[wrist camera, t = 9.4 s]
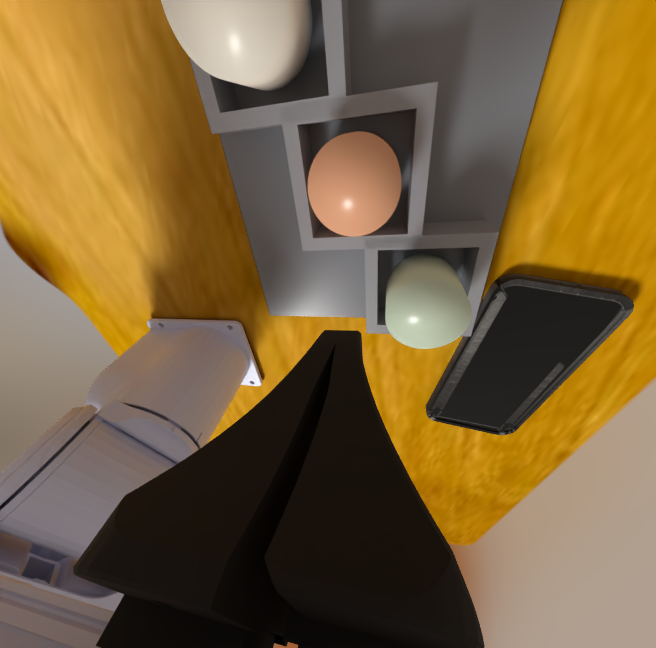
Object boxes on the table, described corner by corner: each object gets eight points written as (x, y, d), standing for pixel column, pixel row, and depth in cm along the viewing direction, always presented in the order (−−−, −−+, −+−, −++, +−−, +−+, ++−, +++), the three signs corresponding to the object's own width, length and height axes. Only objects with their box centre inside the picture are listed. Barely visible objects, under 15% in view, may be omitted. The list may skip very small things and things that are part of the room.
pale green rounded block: (385, 313, 17) (384, 347, 15) (387, 254, 15) (386, 282, 12) (451, 314, 16) (462, 350, 14) (464, 252, 14) (480, 281, 11)
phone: (423, 418, 25) (502, 276, 16) (422, 408, 26) (496, 268, 17) (510, 437, 24) (647, 300, 15) (506, 426, 25) (633, 290, 16)
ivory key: (232, 97, 12) (188, 90, 9) (197, -47, 10) (126, -111, 7) (318, 83, 11) (296, 70, 8) (303, -79, 9) (266, -166, 6)
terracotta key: (326, 219, 15) (314, 238, 13) (318, 135, 13) (300, 138, 11) (397, 215, 15) (398, 234, 12) (401, 125, 12) (404, 125, 10)
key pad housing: (272, 311, 21) (260, 331, 19) (169, -64, 11) (118, -108, 9) (473, 315, 18) (484, 339, 16) (613, -212, 8) (696, -336, 6)
